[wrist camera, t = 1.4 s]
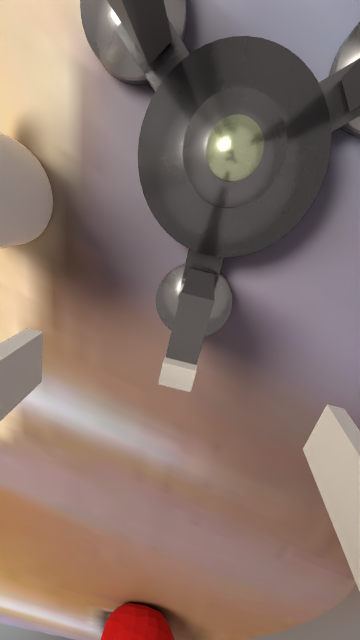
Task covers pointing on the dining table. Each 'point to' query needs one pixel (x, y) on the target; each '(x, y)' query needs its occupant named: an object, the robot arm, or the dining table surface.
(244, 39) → the tribrach
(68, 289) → the dining table surface
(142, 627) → the tomato
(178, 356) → the dark grey angled finger
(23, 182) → the mug
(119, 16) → the knob
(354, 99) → the knob
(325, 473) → the robot arm
